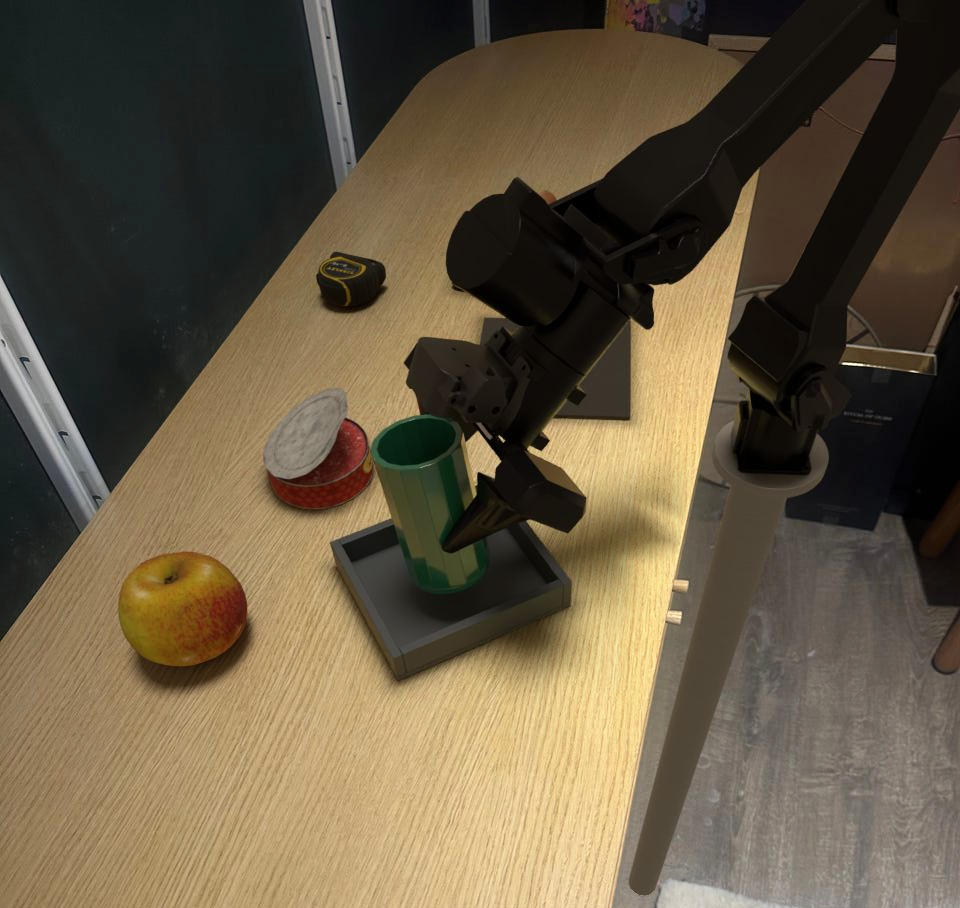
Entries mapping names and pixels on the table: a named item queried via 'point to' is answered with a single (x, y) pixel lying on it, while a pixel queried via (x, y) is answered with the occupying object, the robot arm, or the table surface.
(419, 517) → the cup
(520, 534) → the tray
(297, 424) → the canned food
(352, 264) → the tape measure
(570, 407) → the mat
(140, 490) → the table surface
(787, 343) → the robot arm
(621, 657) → the table surface
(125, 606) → the fruit
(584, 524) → the table surface
